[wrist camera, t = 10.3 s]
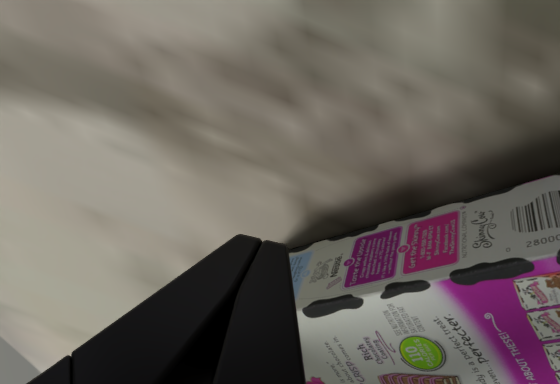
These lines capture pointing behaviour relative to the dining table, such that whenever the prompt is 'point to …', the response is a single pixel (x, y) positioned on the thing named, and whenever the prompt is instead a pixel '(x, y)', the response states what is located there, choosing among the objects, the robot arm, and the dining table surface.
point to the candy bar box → (438, 295)
